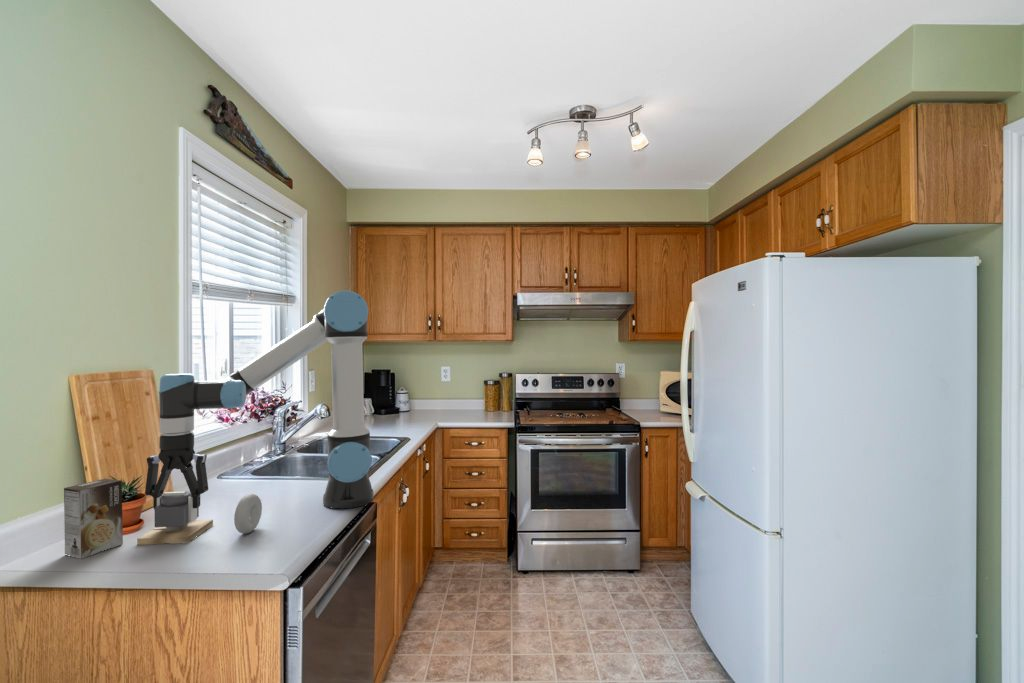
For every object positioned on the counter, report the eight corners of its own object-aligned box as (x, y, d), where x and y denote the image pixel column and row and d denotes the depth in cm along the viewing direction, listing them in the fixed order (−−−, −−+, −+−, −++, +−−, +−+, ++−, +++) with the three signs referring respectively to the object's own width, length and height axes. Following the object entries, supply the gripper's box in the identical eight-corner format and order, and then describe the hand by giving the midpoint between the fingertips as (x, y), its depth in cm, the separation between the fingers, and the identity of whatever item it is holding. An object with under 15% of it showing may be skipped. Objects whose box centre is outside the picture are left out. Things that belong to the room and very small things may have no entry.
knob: (198, 516, 133) (198, 487, 133) (183, 526, 126) (183, 495, 126) (171, 517, 132) (170, 488, 132) (154, 527, 125) (154, 496, 125)
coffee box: (106, 541, 125) (106, 477, 125) (123, 544, 122) (123, 479, 122) (63, 555, 116) (63, 487, 116) (80, 559, 114) (80, 490, 114)
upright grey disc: (244, 540, 125) (244, 500, 125) (231, 540, 125) (231, 500, 125) (264, 525, 135) (264, 488, 135) (251, 525, 135) (251, 488, 135)
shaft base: (212, 525, 135) (212, 501, 135) (188, 542, 123) (188, 516, 123) (166, 526, 134) (166, 502, 134) (137, 544, 122) (137, 518, 122)
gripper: (224, 429, 133) (224, 514, 133) (145, 431, 132) (145, 517, 132) (209, 434, 126) (209, 524, 126) (126, 436, 124) (126, 527, 124)
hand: (177, 520), depth 129 cm, fingers closed on knob, 7 cm apart
